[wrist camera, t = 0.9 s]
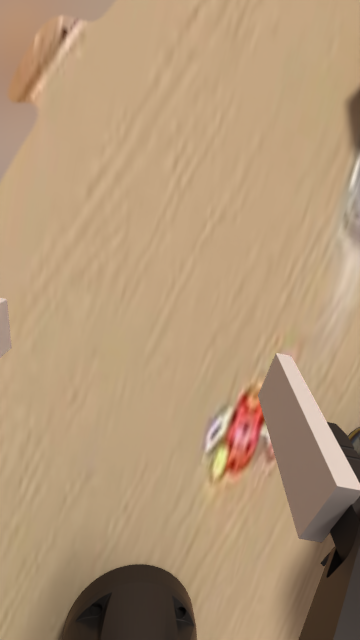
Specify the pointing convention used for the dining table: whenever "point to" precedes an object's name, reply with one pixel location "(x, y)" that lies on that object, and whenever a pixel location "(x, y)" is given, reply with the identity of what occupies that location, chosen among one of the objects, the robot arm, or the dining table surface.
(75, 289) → the dining table surface
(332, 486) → the robot arm
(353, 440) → the apothecary jar
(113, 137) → the dining table surface
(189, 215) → the dining table surface
